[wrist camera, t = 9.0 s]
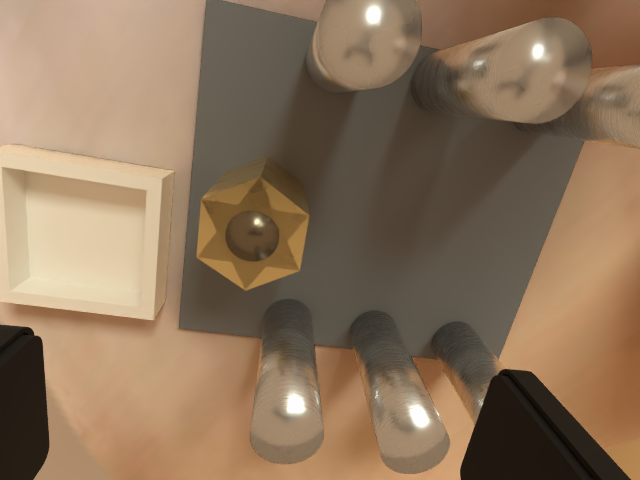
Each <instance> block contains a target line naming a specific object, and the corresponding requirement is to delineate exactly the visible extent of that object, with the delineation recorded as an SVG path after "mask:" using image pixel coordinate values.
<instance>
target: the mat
mask: <svg viewBox="0 0 640 480" xmlns="http://www.w3.org/2000/svg"><path fill="white" fill-rule="evenodd" d="M317 23H318V22H314V21H310V20H305V19H301V18H297V17H292V16H288V15H284V14H279V13H275V12H270V11H266V10H262V9H257V8H253V7H248V6H244V5H240V4H235V3H231V2H226V1H222V0H207V1H206V13H205V25H204V36H203V48H202V60H201V71H200V83H199V95H198V107H197V118H196V130H195V142H194V153H193V165H192V177H191V188H190V200H189V212H188V224H187V235H186V247H185V259H184V270H183V282H182V294H181V306H180V317H179V328H181V329H189V330H198V331H206V332H214V333H223V334H231V335H239V336H248V337H256V338H261V336H262V328H263V319H264V314H265V312H266V310H267V309H268V307H269V306H270V305H271V304H273V303H274V302H276V301H278V300H282V299H295V300H298V301H300V302H302V303H303V304H305V305H306V306H307V307H308V309H309V310H310V312H311V315H312V323H313V333H314V342H315V345H323V346H331V347H339V348H348V349H353V345H352V341H351V337H350V328H351V325H352V323H353V322H354V320H355V319H356V318H357V317H358V316H360V315H361V314H363V313H365V312H368V311H374V310H377V311H383V312H385V313H387V314H389V315H390V316H391V317H392V318H393V319H394V321H395V323H396V325H397V327H398V329H399V332H400V334H401V336H402V338H403V340H404V342H405V344H406V346H407V348H408V351H409V353H410V355H411V356H414V357H423V358H431V359H437V357H436V355H435V354H434V352H433V350H432V345H431V343H432V338H433V336H434V334H435V333H436V331H437V330H438V329H439V328H440V327H442V326H443V325H445V324H447V323H450V322H456V321H459V322H464V323H467V324H469V325H470V326H471V327H472V328H473V329H474V330H475V331H476V333H477V334H478V335H479V336H480V338H481V339H482V340H483V341H484V343H485V344H486V345H487V346H488V348H489V349H490V350H491V351H492V353H493V354H494V355H495V356H496V358H497V359H499V357H500V354H501V351H502V349H503V346H504V344H505V341H506V339H507V336H508V334H509V331H510V329H511V326H512V323H513V321H514V318H515V316H516V313H517V311H518V308H519V306H520V303H521V301H522V298H523V296H524V293H525V290H526V288H527V285H528V283H529V280H530V278H531V275H532V273H533V270H534V268H535V265H536V263H537V260H538V257H539V255H540V252H541V250H542V247H543V245H544V242H545V240H546V237H547V235H548V232H549V230H550V227H551V224H552V222H553V219H554V217H555V214H556V212H557V209H558V207H559V204H560V202H561V199H562V197H563V194H564V191H565V189H566V186H567V184H568V181H569V179H570V176H571V174H572V171H573V169H574V166H575V164H576V161H577V158H578V156H579V153H580V151H581V148H582V146H583V143H584V141H582V140H575V139H568V138H562V137H555V136H548V135H541V134H534V133H527V132H523V131H521V130H519V129H518V128H516V127H515V126H514V124H513V123H512V121H503V120H493V119H484V118H474V117H464V116H455V115H445V114H435V113H430V112H427V111H425V110H423V109H422V108H420V107H419V106H418V104H417V103H416V102H415V100H414V98H413V95H412V91H411V80H412V75H413V73H414V70H415V68H416V67H417V65H418V64H419V62H420V61H421V60H422V59H424V58H425V57H426V56H428V55H429V54H432V53H434V52H438V51H441V50H437V49H433V48H428V47H424V46H419V49H418V52H417V54H416V57H415V59H414V61H413V62H412V64H411V65H410V67H409V68H408V69H407V71H406V72H405V73H404V74H403V75H402V76H400V77H399V78H398V79H397V80H395V81H394V82H392V83H390V84H388V85H386V86H383V87H379V88H373V89H365V90H356V91H348V92H339V93H332V92H328V91H325V90H323V89H321V88H320V87H318V86H317V85H316V84H315V83H314V82H313V80H312V79H311V77H310V75H309V73H308V70H307V65H306V55H307V50H308V47H309V45H310V42H311V39H312V37H313V34H314V31H315V29H316V26H317ZM266 156H269V157H270V158H271V159H272V160H274V161H275V162H276V163H277V164H279V165H280V166H281V167H282V168H284V169H285V170H286V171H287V172H288V173H290V174H291V175H292V176H293V177H295V178H296V179H297V180H298V181H300V182H301V183H302V184H303V185H304V187H305V193H306V199H307V204H308V210H309V221H308V226H307V232H306V238H305V244H304V249H303V255H302V261H301V267H300V271H298V272H295V273H293V274H290V275H287V276H285V277H282V278H279V279H276V280H274V281H271V282H268V283H265V284H263V285H260V286H257V287H254V288H252V289H249V290H246V291H245V290H244V289H242V288H241V287H239V286H238V285H236V284H235V283H233V282H232V281H231V280H229V279H228V278H226V277H225V276H223V275H222V274H220V273H219V272H217V271H216V270H214V269H213V268H211V267H210V266H208V265H207V264H205V263H204V262H203V261H201V260H200V259H198V258H197V257H196V256H197V244H198V231H199V219H200V207H201V199H202V198H203V196H204V195H205V194H206V193H207V192H208V191H209V190H210V188H211V187H212V186H213V185H214V184H215V183H216V182H217V180H218V179H219V178H220V177H221V176H222V175H223V174H224V172H227V171H230V170H232V169H235V168H237V167H240V166H243V165H245V164H248V163H251V162H253V161H256V160H258V159H261V158H264V157H266Z"/></svg>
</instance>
